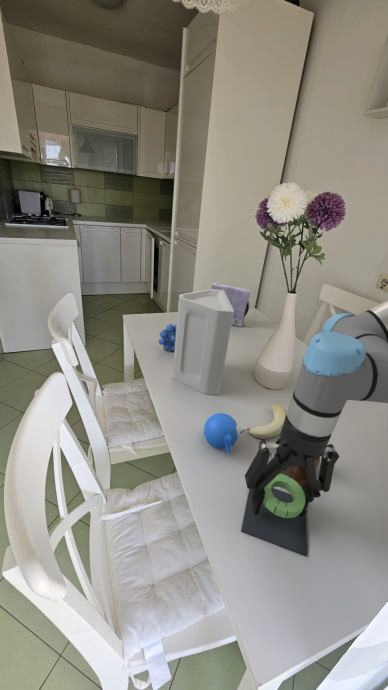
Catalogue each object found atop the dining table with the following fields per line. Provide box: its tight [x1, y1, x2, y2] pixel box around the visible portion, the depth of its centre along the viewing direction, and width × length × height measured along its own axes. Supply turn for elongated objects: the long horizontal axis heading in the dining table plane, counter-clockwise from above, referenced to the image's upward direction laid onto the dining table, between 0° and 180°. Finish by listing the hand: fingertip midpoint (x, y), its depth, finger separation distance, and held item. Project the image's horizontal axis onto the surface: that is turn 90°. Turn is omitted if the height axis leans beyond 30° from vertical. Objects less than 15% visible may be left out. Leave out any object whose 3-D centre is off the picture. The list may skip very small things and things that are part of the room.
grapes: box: [158, 322, 177, 352], centre depth 115 cm, size 12×7×12 cm, turn 94°
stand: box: [279, 457, 321, 487], centre depth 69 cm, size 11×11×11 cm
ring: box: [263, 474, 305, 518], centre depth 59 cm, size 8×8×2 cm
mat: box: [240, 487, 307, 557], centre depth 62 cm, size 12×12×1 cm
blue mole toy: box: [203, 412, 251, 454], centre depth 76 cm, size 12×12×8 cm
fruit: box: [246, 402, 287, 440], centre depth 84 cm, size 7×15×3 cm, turn 139°
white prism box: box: [172, 288, 234, 396], centre depth 96 cm, size 19×15×28 cm
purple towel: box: [210, 282, 251, 328], centre depth 144 cm, size 19×5×18 cm, turn 72°
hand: (277, 508), depth 61 cm, fingers closed on ring, 8 cm apart
